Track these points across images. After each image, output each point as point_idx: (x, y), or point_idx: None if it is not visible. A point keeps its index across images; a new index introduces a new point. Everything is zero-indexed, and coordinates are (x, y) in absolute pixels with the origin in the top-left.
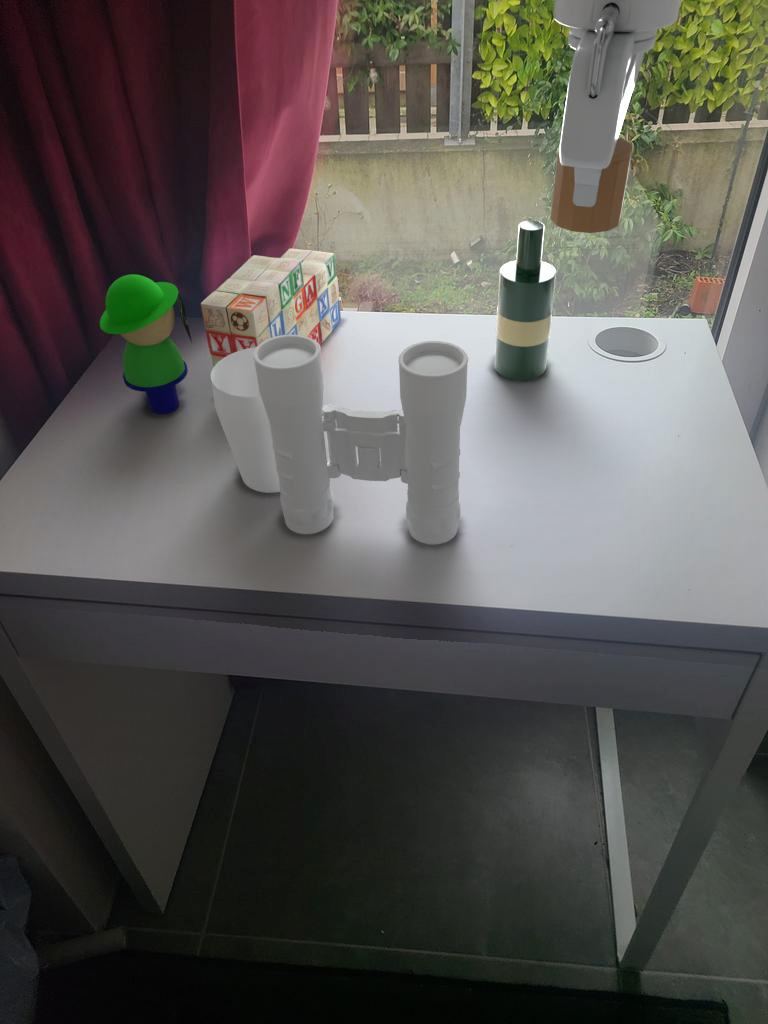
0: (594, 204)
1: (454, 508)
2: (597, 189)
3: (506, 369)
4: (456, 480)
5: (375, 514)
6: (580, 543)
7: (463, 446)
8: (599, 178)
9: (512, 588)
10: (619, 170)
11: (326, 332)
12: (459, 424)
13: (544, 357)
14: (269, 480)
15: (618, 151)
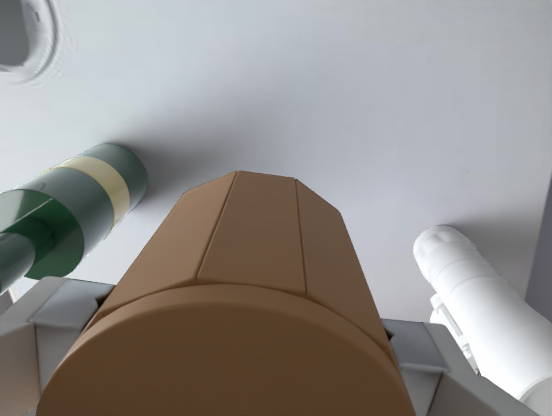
0: (441, 324)
1: (470, 245)
2: (465, 360)
3: (140, 198)
4: (487, 263)
5: (416, 299)
6: (465, 97)
7: None
8: (526, 406)
9: (530, 167)
10: (367, 310)
11: None
12: (527, 307)
13: (114, 154)
14: None
15: (317, 375)
